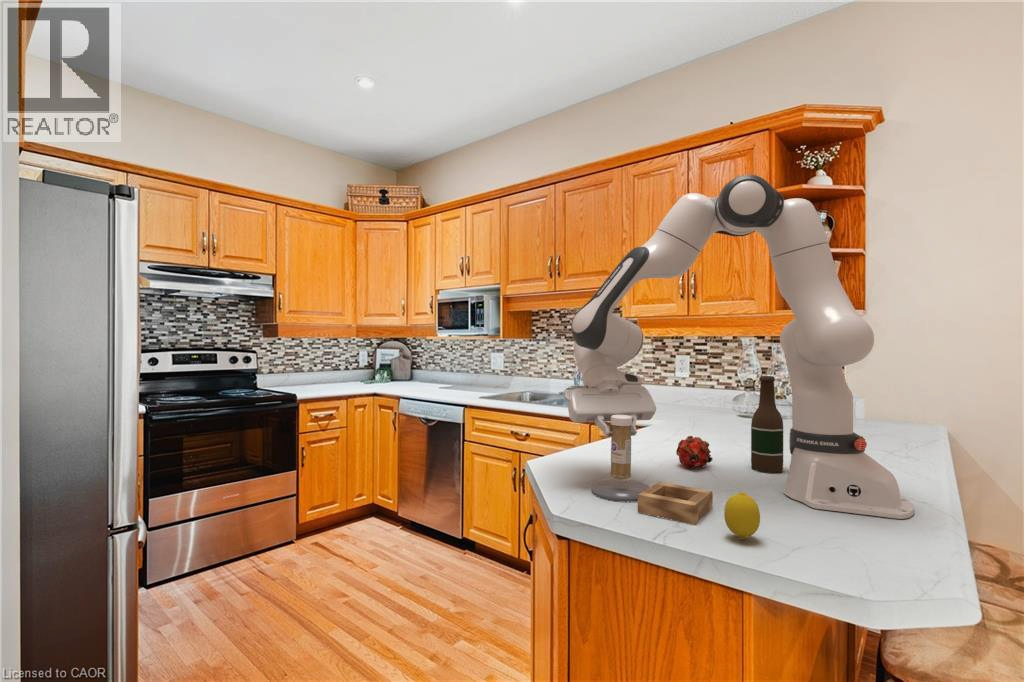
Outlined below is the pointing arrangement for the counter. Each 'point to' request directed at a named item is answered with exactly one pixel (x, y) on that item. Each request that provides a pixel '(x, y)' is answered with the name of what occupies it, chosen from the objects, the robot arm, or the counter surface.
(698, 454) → the dragon fruit
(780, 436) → the beer bottle
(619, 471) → the sprinkles bottle
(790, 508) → the counter surface
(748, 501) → the lemon
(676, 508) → the frame
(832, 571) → the counter surface
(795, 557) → the counter surface
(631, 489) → the slate coaster
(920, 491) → the counter surface
